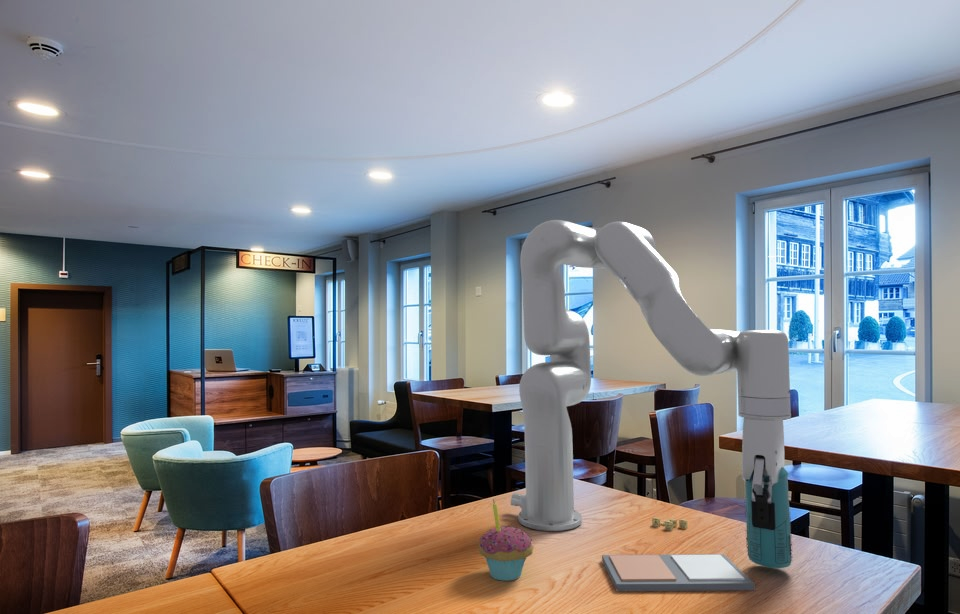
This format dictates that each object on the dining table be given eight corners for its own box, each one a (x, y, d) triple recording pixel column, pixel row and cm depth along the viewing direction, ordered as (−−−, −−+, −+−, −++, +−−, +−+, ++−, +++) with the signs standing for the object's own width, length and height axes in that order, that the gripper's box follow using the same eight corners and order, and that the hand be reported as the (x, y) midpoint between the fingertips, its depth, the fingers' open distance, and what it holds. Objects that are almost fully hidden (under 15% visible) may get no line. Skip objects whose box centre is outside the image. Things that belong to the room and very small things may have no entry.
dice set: (689, 531, 111) (689, 520, 111) (670, 536, 109) (669, 525, 109) (669, 523, 115) (668, 513, 116) (650, 528, 113) (649, 518, 113)
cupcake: (494, 590, 85) (493, 508, 86) (469, 569, 93) (468, 494, 93) (543, 578, 89) (542, 499, 90) (515, 559, 97) (514, 487, 97)
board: (616, 591, 85) (616, 582, 85) (602, 561, 96) (602, 553, 96) (754, 590, 84) (754, 581, 84) (724, 560, 95) (723, 552, 95)
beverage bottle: (799, 580, 88) (794, 446, 88) (751, 576, 89) (747, 445, 90) (785, 562, 94) (781, 438, 95) (741, 560, 95) (738, 437, 96)
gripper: (748, 400, 102) (752, 504, 101) (726, 412, 87) (730, 533, 87) (797, 402, 97) (801, 511, 97) (782, 416, 83) (786, 543, 82)
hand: (767, 520), depth 92 cm, fingers closed on beverage bottle, 6 cm apart
